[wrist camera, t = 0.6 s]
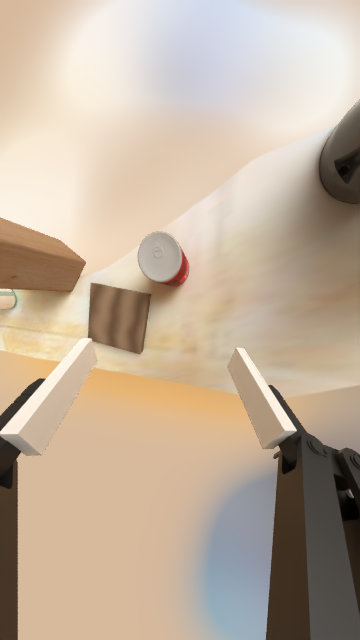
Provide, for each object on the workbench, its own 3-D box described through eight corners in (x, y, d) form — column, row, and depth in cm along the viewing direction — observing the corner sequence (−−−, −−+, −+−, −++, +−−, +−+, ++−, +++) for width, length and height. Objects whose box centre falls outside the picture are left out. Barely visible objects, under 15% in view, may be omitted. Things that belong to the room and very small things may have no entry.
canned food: (180, 245, 32) (166, 220, 21) (195, 276, 33) (190, 266, 22) (153, 262, 34) (128, 248, 23) (168, 291, 34) (151, 290, 24)
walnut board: (150, 294, 35) (147, 294, 33) (142, 351, 39) (139, 353, 37) (96, 283, 38) (90, 282, 36) (93, 337, 41) (88, 339, 39)
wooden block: (72, 291, 40) (-55, 288, 20) (47, 270, 40) (-102, 247, 21) (87, 262, 37) (-42, 226, 18) (60, 239, 38) (-95, 180, 18)
